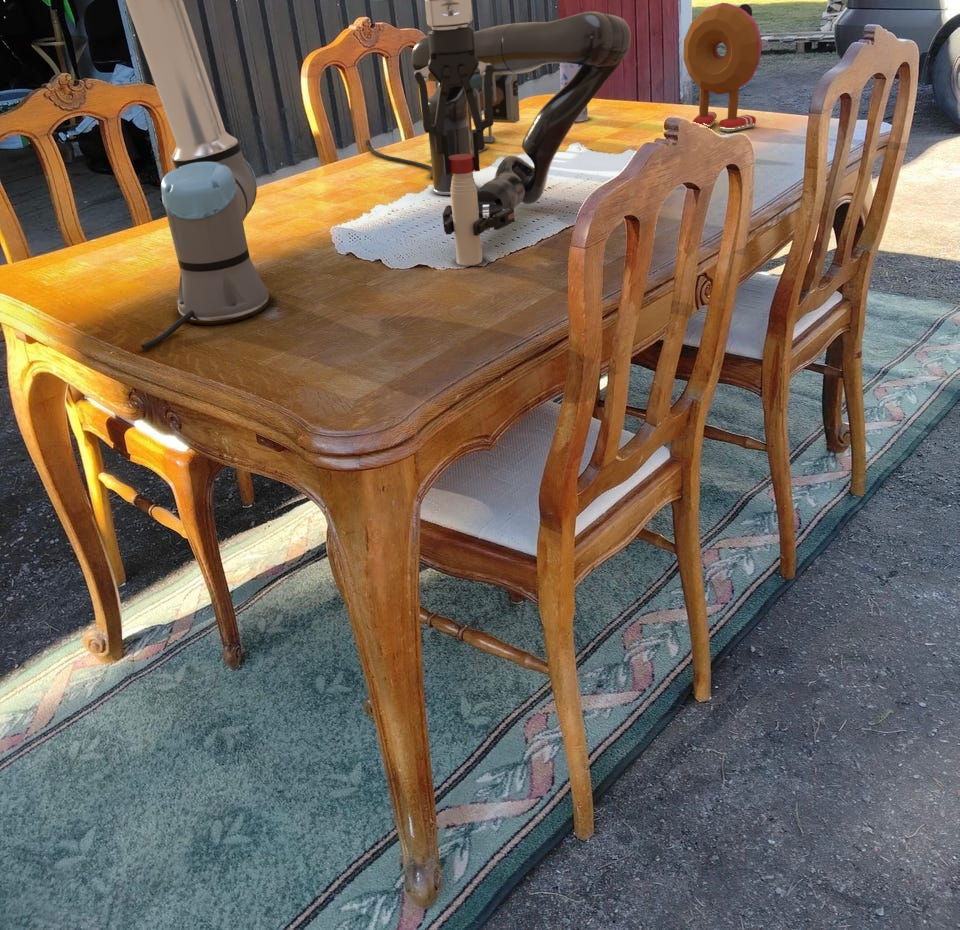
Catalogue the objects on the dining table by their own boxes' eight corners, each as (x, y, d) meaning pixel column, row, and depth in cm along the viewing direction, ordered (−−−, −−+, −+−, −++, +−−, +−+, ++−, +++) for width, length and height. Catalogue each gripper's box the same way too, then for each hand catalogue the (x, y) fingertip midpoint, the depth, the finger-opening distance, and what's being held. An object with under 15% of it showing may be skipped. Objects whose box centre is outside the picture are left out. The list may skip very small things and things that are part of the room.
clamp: (458, 163, 243) (450, 72, 232) (428, 161, 247) (419, 72, 236) (520, 131, 269) (515, 49, 258) (492, 130, 273) (487, 49, 262)
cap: (452, 167, 172) (451, 153, 171) (478, 167, 171) (477, 153, 170) (445, 174, 168) (444, 160, 167) (471, 174, 167) (470, 160, 166)
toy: (766, 126, 252) (776, -1, 237) (746, 134, 246) (755, 5, 231) (696, 119, 265) (700, -1, 250) (675, 127, 259) (678, 4, 244)
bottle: (467, 255, 181) (459, 154, 172) (487, 259, 178) (480, 157, 169) (451, 263, 178) (441, 161, 169) (471, 267, 175) (462, 163, 166)
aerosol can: (559, 122, 275) (557, 47, 265) (562, 117, 282) (559, 42, 272) (587, 121, 274) (585, 45, 263) (589, 115, 280) (587, 41, 270)
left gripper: (397, 34, 154) (413, 181, 166) (506, 23, 155) (514, 170, 167) (395, 28, 160) (411, 171, 172) (500, 18, 162) (508, 160, 174)
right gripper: (457, 182, 186) (422, 207, 173) (527, 183, 182) (497, 210, 168) (460, 220, 190) (426, 248, 177) (529, 223, 185) (500, 251, 172)
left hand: (462, 170), depth 170 cm, fingers closed on cap, 4 cm apart
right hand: (461, 229), depth 173 cm, fingers closed on bottle, 4 cm apart
